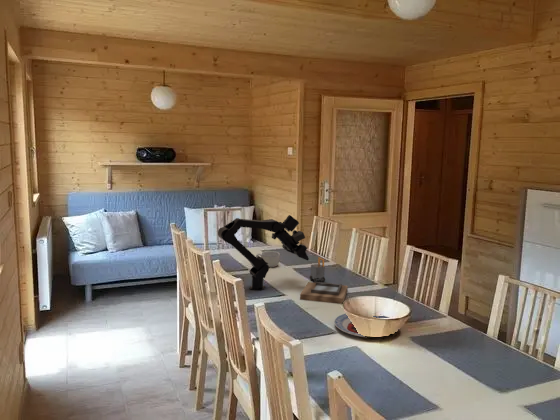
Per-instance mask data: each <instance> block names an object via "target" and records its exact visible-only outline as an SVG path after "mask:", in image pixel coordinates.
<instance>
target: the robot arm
mask: <svg viewBox="0 0 560 420" xmlns="http://www.w3.org/2000/svg"><path fill="white" fill-rule="evenodd" d="M298 225H300V222H299V221H298V220H297V219H296V218H295V217H293V216H292V215H290V214H288V216H286V218H285V219H284V220H283V221H278V220H275V219H273V218H271V219H270V218H269V219H263V220H258V219H245V218H240V217H236V218H235V219H233V220H232V221H230V222H229V223H227V224H226V225H224V226H223V227H220V228H219V229H218V230H217V236H218V237H219V238H220V239H221V240H223V241H224V242H226V243H228V244H229V245H231V246H232V247H233V248H234V249H235V250H236V251H237V252H239V254H241V256H243V257H244V258H245V259H246V260H247V261H248V262H249V263H250V265H251V266H252V267H251V268H250V269H249V273H250V275H251V286H250V287H249V290H254V289H255V290H256V291H263V289H265V288H266V285H264V279H265V278H266V276H267V274H268V273H269V270H270V267H269V266H268V265H267V264H268V263H267V262H266V261H264V259H263V258H261V256H260V255H258V257H257V258H256V256H255V255H254V254H253V252H251V251H250V250H249V249H248V248H247V247H245V245H243V244H242V243H241V242H240V241H239V240H238V238H237V236H236V234H237V233H238V231H239V230H240V229H241V228H247V229H248V228H250V229H262V230H265V231H269V232H272V233H271V239H273V240H276V239H278V240H279V241H280V242H281V244H282V245H281V246H282V249H284V250H286V251H287V252H288V253H291V254H294V255H295V256H296V257H298V258H299V259H300V258H301V259H303V260H305V261H309V260H310V258H309V256H308V254H307V249H308V247H307V246H306V245H305V244H302V243H300V241H302V240H304V239H306V235H305V233H304V232H303V231H301V230H295V229H296V228H297V227H298ZM289 232H292V235H291V234H290V233H289Z"/></svg>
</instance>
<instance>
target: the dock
mask: <svg viewBox="0 0 560 420" xmlns="http://www.w3.org/2000/svg"><path fill="white" fill-rule="evenodd" d="M348 290H349V289H348V285H344V284H341V283H330V282H323V283H322V282H320V281H319V282H316V283H315V282H314V281H312V282H311V281H309V282H307V284H306V285H305V286H304V288H303V289H302V290H301V292H300V293H299V295H300V296H299V299H300V300H304V301H313V302H321V303H333V304H342V302H343V303H344V300H345V299H346V296H347V293H348Z"/></svg>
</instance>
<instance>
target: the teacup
mask: <svg viewBox="0 0 560 420" xmlns="http://www.w3.org/2000/svg"><path fill="white" fill-rule="evenodd" d="M258 256H260V257H261V258H263V259H264V261H266V262H267V263H268V264H267V265H268V266H269V268H275V267H277V266H278V265H279V264H280V257H281V253H280V252H278V251H276V250H275V251H274V250H266V251H262V253H257V254H256V256H255V257H256V258H257V257H258Z"/></svg>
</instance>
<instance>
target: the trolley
mask: <svg viewBox="0 0 560 420" xmlns="http://www.w3.org/2000/svg"><path fill="white" fill-rule="evenodd" d="M321 261H322V263H321ZM325 269H326V267H325V258H322V257H320V256H318V257H317V263H316V264H310V275H309V280H311V281H312V282H313V283H316V282H321V283H325V281H326V278H325Z"/></svg>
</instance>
